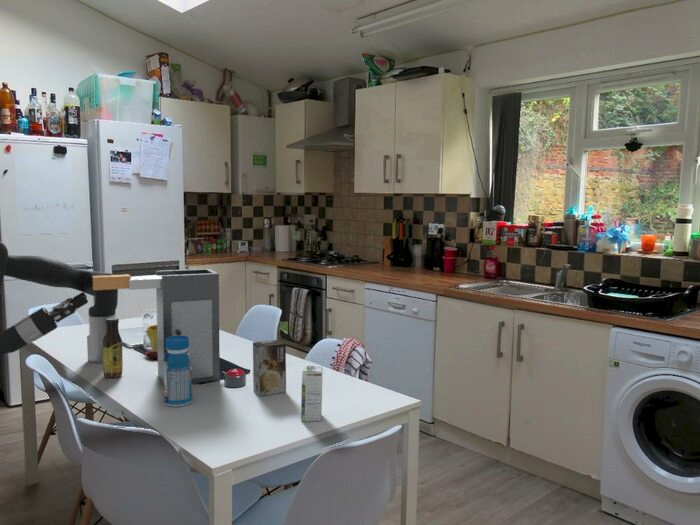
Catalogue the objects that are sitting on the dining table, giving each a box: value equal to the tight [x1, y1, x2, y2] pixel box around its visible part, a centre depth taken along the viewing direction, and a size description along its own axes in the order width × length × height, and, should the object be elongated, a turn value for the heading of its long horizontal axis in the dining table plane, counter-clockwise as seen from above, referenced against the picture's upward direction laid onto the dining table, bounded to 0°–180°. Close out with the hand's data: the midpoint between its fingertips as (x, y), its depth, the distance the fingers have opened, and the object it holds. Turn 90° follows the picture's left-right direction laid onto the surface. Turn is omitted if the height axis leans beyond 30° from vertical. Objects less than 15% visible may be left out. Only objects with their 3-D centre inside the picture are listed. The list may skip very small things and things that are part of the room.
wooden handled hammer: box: [92, 273, 176, 291], centre depth 189 cm, size 26×9×4 cm, turn 116°
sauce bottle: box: [102, 317, 124, 379], centre depth 199 cm, size 6×6×20 cm
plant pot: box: [146, 324, 158, 352], centre depth 232 cm, size 10×10×10 cm
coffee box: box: [252, 339, 287, 397], centre depth 186 cm, size 9×6×16 cm
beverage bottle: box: [163, 335, 193, 408], centre depth 175 cm, size 8×8×20 cm
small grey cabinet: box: [155, 268, 221, 386], centre depth 197 cm, size 18×16×36 cm
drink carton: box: [300, 365, 323, 422], centre depth 165 cm, size 6×6×14 cm
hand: (85, 296), depth 182 cm, fingers open, 8 cm apart
